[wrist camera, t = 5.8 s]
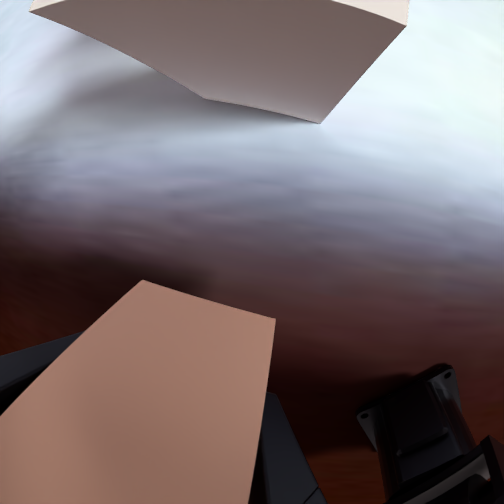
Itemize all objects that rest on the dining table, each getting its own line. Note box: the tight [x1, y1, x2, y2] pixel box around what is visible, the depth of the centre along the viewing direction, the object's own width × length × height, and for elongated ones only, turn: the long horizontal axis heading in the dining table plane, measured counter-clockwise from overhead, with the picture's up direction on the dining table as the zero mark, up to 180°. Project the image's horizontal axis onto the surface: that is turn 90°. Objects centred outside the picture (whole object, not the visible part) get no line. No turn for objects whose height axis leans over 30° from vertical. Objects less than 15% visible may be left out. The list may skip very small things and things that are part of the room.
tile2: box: [29, 0, 409, 124], centre depth 7 cm, size 2×5×10 cm, turn 77°
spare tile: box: [0, 280, 276, 504], centre depth 6 cm, size 2×5×10 cm, turn 76°
